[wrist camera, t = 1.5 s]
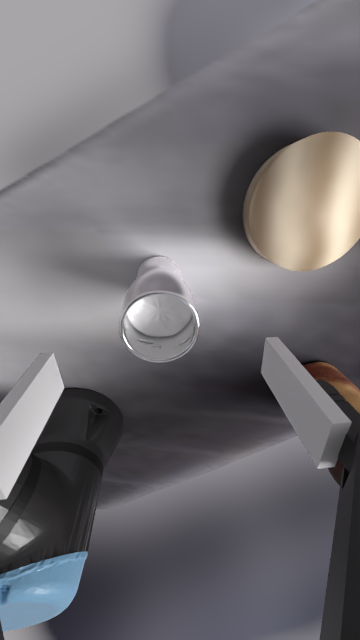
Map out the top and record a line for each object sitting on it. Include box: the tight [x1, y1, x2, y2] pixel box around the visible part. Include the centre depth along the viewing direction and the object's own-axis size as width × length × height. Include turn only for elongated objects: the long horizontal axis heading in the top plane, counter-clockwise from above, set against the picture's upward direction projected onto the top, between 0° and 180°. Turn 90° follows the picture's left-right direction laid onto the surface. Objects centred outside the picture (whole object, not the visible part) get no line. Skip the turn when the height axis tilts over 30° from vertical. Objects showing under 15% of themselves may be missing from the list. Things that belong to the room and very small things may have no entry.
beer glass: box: [119, 256, 200, 362], centre depth 26 cm, size 7×7×15 cm
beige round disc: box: [243, 132, 360, 271], centre depth 29 cm, size 14×14×4 cm
